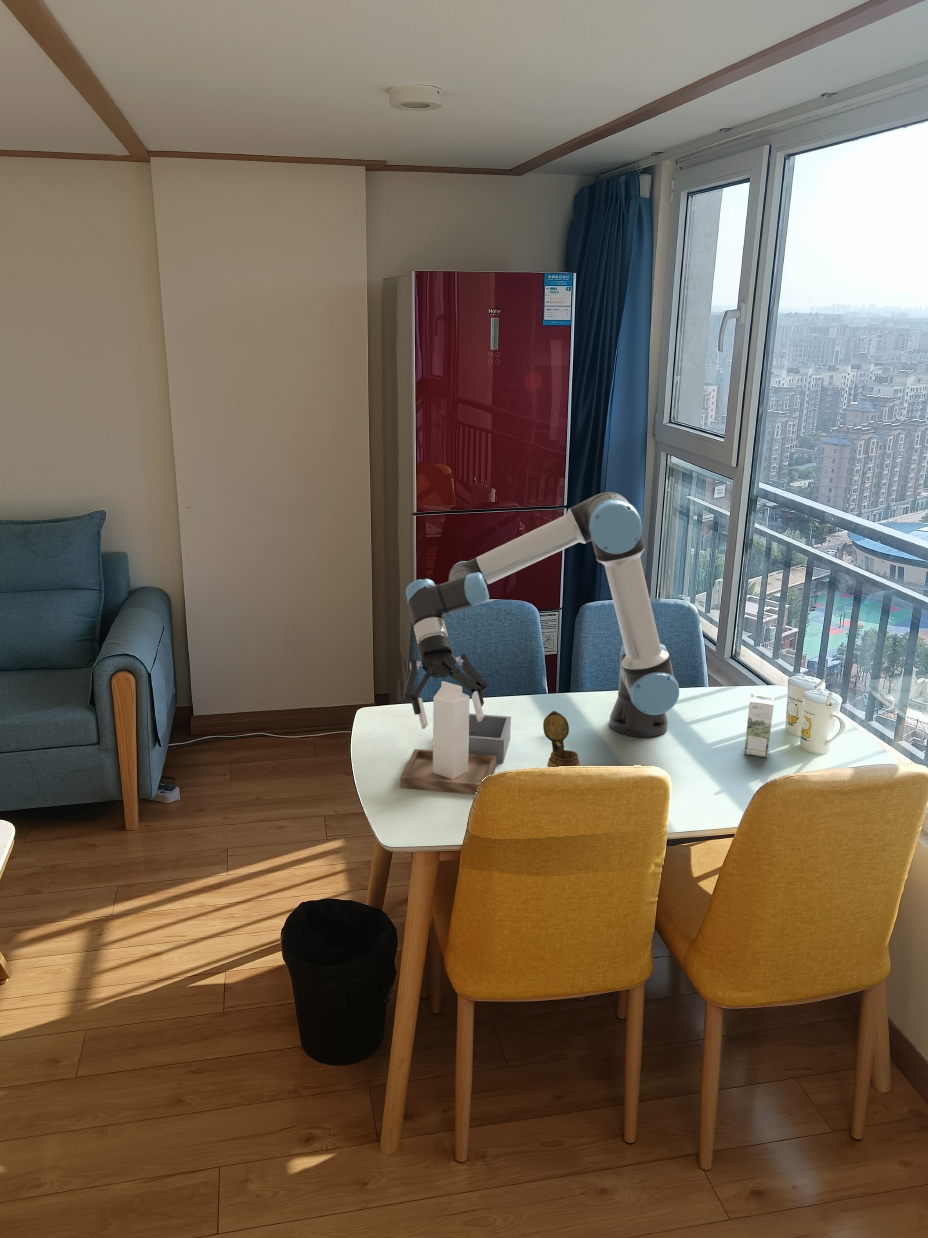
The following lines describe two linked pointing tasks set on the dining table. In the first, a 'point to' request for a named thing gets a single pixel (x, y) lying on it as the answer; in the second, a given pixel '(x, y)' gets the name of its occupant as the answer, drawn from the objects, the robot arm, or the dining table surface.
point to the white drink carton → (759, 725)
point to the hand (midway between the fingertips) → (453, 723)
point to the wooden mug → (559, 741)
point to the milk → (450, 731)
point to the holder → (489, 735)
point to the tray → (423, 777)
